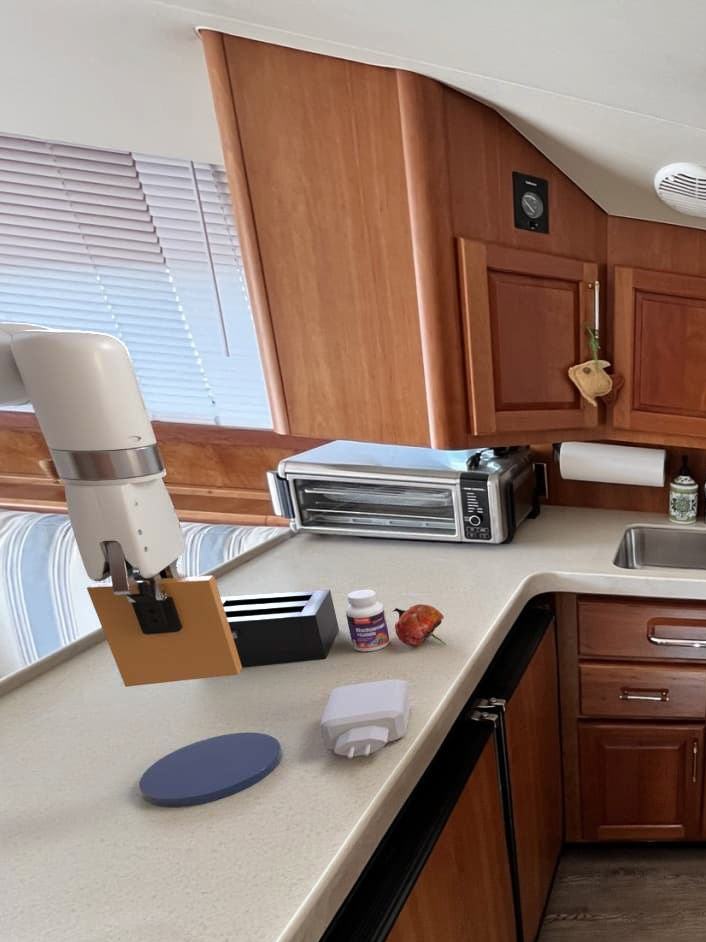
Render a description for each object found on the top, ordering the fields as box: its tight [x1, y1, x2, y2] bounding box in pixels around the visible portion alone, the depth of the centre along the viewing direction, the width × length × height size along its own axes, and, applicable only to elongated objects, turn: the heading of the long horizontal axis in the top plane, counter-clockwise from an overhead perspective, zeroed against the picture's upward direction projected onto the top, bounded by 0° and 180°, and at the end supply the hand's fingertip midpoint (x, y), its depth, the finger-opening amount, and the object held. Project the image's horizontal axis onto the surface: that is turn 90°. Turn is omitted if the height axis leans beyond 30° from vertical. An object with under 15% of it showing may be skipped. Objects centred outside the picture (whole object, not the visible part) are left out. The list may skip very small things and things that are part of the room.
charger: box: [319, 678, 411, 760], centre depth 86 cm, size 5×9×15 cm
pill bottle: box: [345, 589, 390, 653], centre depth 108 cm, size 5×5×10 cm
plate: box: [138, 732, 283, 808], centre depth 78 cm, size 13×13×1 cm
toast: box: [86, 575, 243, 688], centre depth 71 cm, size 10×2×12 cm, turn 114°
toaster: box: [220, 589, 340, 668], centre depth 104 cm, size 16×12×8 cm
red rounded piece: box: [392, 603, 447, 647], centre depth 111 cm, size 7×7×10 cm
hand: (167, 626), depth 71 cm, fingers closed on toast, 1 cm apart
